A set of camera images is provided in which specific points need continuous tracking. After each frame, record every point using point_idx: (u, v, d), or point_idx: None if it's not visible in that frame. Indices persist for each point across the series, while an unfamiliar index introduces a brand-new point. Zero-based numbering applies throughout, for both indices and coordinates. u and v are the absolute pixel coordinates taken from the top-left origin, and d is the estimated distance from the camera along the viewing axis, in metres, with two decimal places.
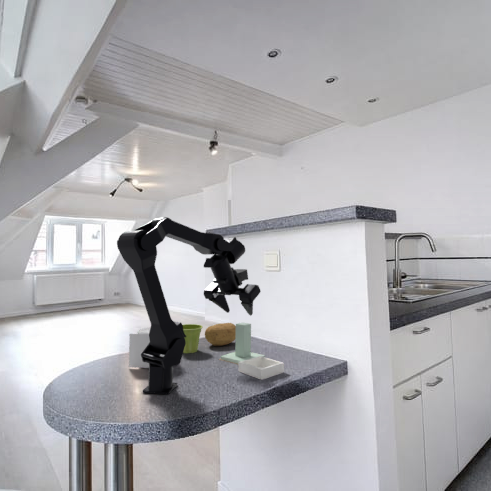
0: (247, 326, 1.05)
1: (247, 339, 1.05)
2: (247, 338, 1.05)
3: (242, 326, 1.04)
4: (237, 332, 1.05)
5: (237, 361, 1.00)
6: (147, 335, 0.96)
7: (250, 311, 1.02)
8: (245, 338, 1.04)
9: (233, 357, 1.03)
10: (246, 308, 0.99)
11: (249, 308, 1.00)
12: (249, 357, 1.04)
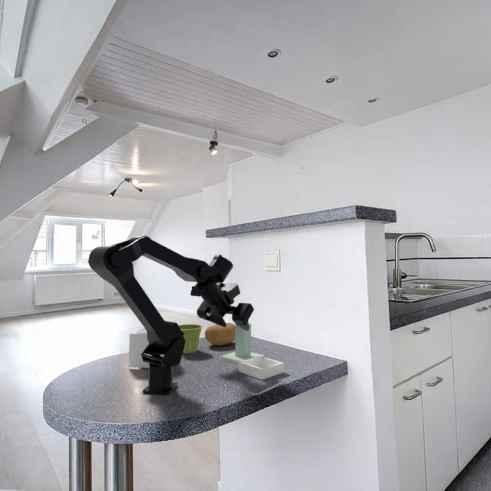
0: None
1: (247, 339, 1.05)
2: (247, 338, 1.05)
3: None
4: (237, 332, 1.05)
5: (237, 361, 1.00)
6: None
7: (246, 328, 0.99)
8: (245, 338, 1.04)
9: (233, 357, 1.03)
10: (241, 327, 0.96)
11: (245, 326, 0.97)
12: (249, 357, 1.04)
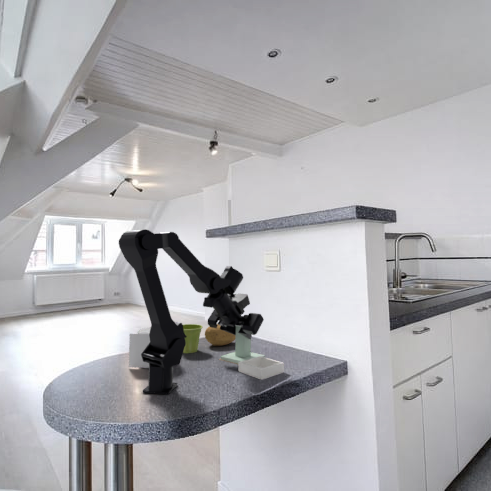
0: None
1: (247, 339, 1.05)
2: (247, 338, 1.05)
3: None
4: (237, 332, 1.05)
5: (237, 361, 1.00)
6: (147, 335, 0.96)
7: (249, 336, 1.04)
8: (245, 338, 1.04)
9: (233, 357, 1.03)
10: (244, 335, 1.02)
11: (247, 334, 1.03)
12: (249, 357, 1.04)
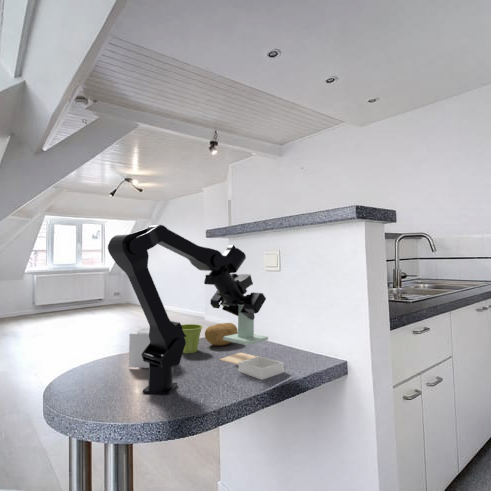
0: None
1: (250, 320, 1.04)
2: (250, 319, 1.04)
3: None
4: (240, 313, 1.04)
5: (239, 341, 0.99)
6: (147, 335, 0.96)
7: (251, 316, 1.03)
8: (248, 319, 1.03)
9: (235, 337, 1.03)
10: (247, 315, 1.01)
11: (250, 314, 1.02)
12: (252, 338, 1.03)
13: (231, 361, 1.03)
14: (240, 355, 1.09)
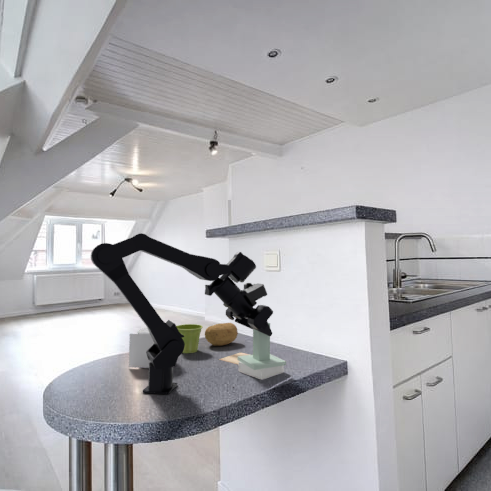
0: None
1: (264, 340, 0.92)
2: (264, 339, 0.92)
3: None
4: (254, 331, 0.94)
5: (248, 364, 0.89)
6: (147, 335, 0.96)
7: (267, 332, 0.90)
8: (261, 339, 0.92)
9: (248, 359, 0.93)
10: (259, 331, 0.89)
11: (263, 330, 0.89)
12: (265, 361, 0.91)
13: (231, 361, 1.03)
14: (240, 355, 1.09)
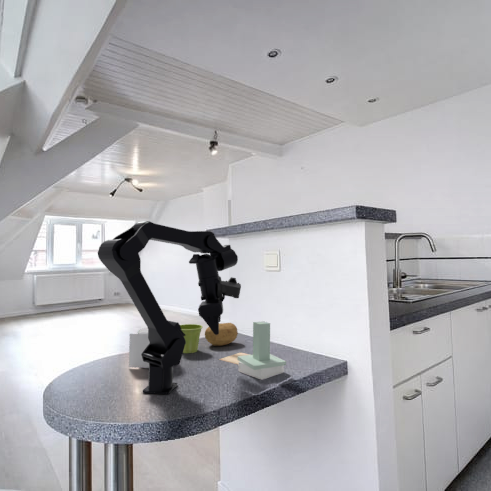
0: (264, 325, 0.92)
1: (264, 340, 0.92)
2: (264, 339, 0.92)
3: (257, 325, 0.92)
4: (254, 331, 0.94)
5: (248, 364, 0.89)
6: (147, 335, 0.96)
7: (213, 329, 0.90)
8: (261, 339, 0.92)
9: (248, 359, 0.93)
10: None
11: (210, 324, 0.89)
12: (265, 361, 0.91)
13: (231, 361, 1.03)
14: (240, 355, 1.09)
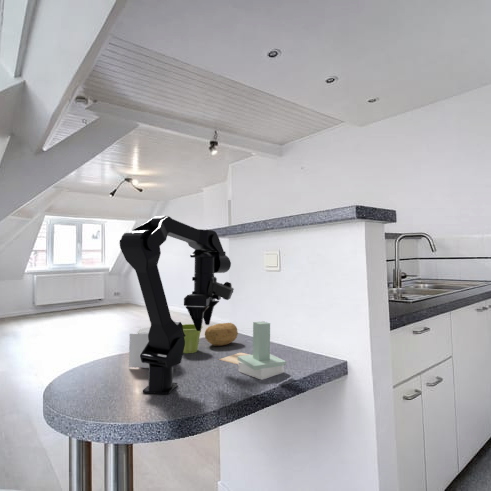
0: (264, 325, 0.92)
1: (264, 340, 0.92)
2: (264, 339, 0.92)
3: (257, 325, 0.92)
4: (254, 331, 0.94)
5: (248, 364, 0.89)
6: (147, 335, 0.96)
7: (196, 324, 0.91)
8: (261, 339, 0.92)
9: (248, 359, 0.93)
10: None
11: (194, 318, 0.91)
12: (265, 361, 0.91)
13: (231, 361, 1.03)
14: (240, 355, 1.09)
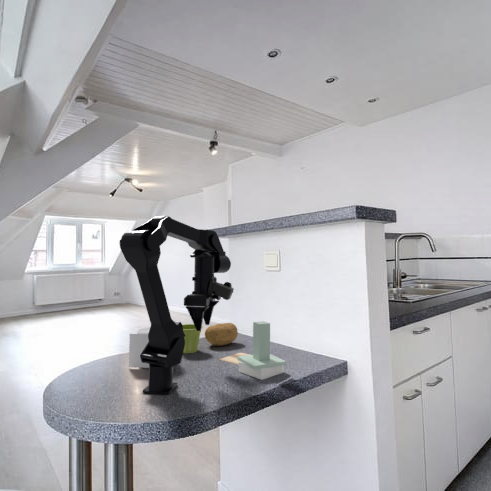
0: (264, 325, 0.92)
1: (264, 340, 0.92)
2: (264, 339, 0.92)
3: (257, 325, 0.92)
4: (254, 331, 0.94)
5: (248, 364, 0.89)
6: (147, 335, 0.96)
7: (196, 324, 0.91)
8: (261, 339, 0.92)
9: (248, 359, 0.93)
10: None
11: (194, 318, 0.91)
12: (265, 361, 0.91)
13: (231, 361, 1.03)
14: (240, 355, 1.09)
